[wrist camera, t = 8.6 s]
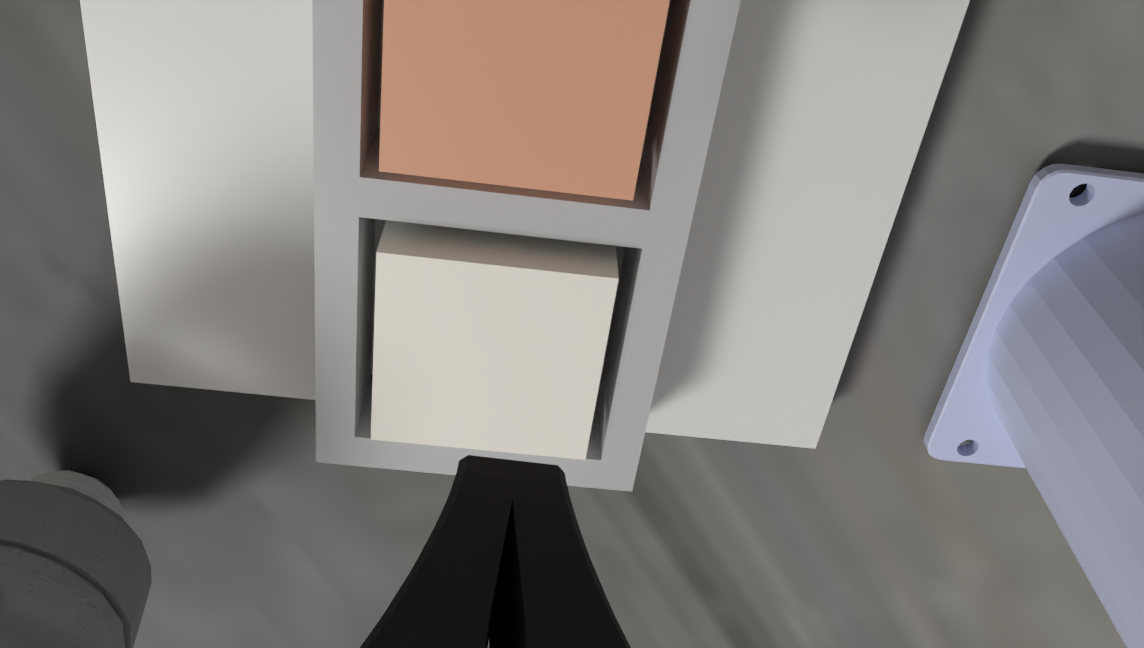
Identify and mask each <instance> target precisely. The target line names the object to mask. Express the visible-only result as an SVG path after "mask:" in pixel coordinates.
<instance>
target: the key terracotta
mask: <svg viewBox="0 0 1144 648" xmlns="http://www.w3.org/2000/svg"><path fill="white" fill-rule="evenodd" d="M669 2H670V0H384V17H383V50H382V83H381V116H380V148H379V171H380V172H389V173H398V174H406V175H415V176H424V177H432V178H441V179H450V180H458V181H467V182H476V183H484V184H493V185H502V186H510V187H519V188H528V189H536V190H545V191H554V192H562V193H571V194H580V195H588V196H597V197H606V198H614V199H623V200H632V201H633V198H634V193H635V187H636V182H637V177H638V171H639V166H640V160H641V155H642V149H643V144H644V138H645V133H646V128H647V122H648V117H649V111H650V106H651V100H652V95H653V89H654V84H655V78H656V73H657V68H658V62H659V57H660V51H661V46H662V40H663V35H664V29H665V24H666V19H667V13H668V8H669Z"/></svg>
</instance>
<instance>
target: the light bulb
mask: <svg viewBox="0 0 1144 648" xmlns="http://www.w3.org/2000/svg"><path fill="white" fill-rule="evenodd" d="M122 517H123V509H122V507H121V505H120V502H119V501H118V499H117V498H116V496H115V495H114V493H113V492H112V490H111V489H110V488H109V487H107V486H106V485H105V484H103V483H102V482H101V481H100V480H98V479H96V478H93V477H90V476H87V475H84V474H81V473H77V472H74V471H70V470H63V471H49V472H47V473H44V474H41V475H38V476H36V477H33V478H32V479H31V480H30V481H19V480H2V481H0V648H133V646H134V642H135V639H136V635H137V632H138V628H139V625H140V621H141V618H142V614H143V611H144V607H145V604H146V600H147V597H148V593H149V590H150V586H151V565H150V562H149V559H148V557H147V554H146V551H145V548H144V546H143V543H142V541H141V540H140V539H139V537H138V536H137V535H136V534H135V533H134V531H133V530H132V529H131V528H130V527H129V525H128V524H127V523H126V522H125V521H124V519H123V518H122Z"/></svg>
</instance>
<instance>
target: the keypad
mask: <svg viewBox="0 0 1144 648" xmlns="http://www.w3.org/2000/svg"><path fill="white" fill-rule="evenodd" d="M969 2H970V0H670V2H669V8H668V13H667V19H666V24H665V29H664V35H663V40H662V46H661V51H660V57H659V62H658V68H657V73H656V78H655V84H654V89H653V95H652V100H651V106H650V111H649V117H648V122H647V128H646V133H645V138H644V144H643V149H642V155H641V160H640V166H639V171H638V177H637V182H636V187H635V193H634V198H633V201H632V200H623V199H614V198H606V197H597V196H588V195H580V194H571V193H562V192H554V191H545V190H536V189H528V188H519V187H510V186H502V185H493V184H484V183H476V182H467V181H458V180H450V179H441V178H432V177H424V176H415V175H406V174H398V173H389V172H380V171H379V148H380V116H381V83H382V50H383V17H384V0H80V5H81V12H82V20H83V27H84V35H85V42H86V50H87V57H88V65H89V73H90V80H91V88H92V95H93V103H94V110H95V118H96V125H97V133H98V141H99V148H100V156H101V163H102V171H103V178H104V186H105V193H106V201H107V209H108V216H109V224H110V231H111V239H112V246H113V254H114V261H115V269H116V277H117V284H118V292H119V299H120V307H121V314H122V322H123V329H124V337H125V345H126V352H127V360H128V367H129V375H130V382H136V383H146V384H157V385H167V386H177V387H187V388H198V389H208V390H218V391H228V392H239V393H249V394H259V395H270V396H280V397H290V398H300V399H311V400H316V462H319V463H330V464H341V465H351V466H362V467H373V468H384V469H395V470H406V471H416V472H427V473H438V474H449V475H456V473H457V468H458V464H459V460H461V459H463V458H464V457H466V456H468V455H473V456H481V457H490V458H499V459H508V460H516V461H525V462H534V463H542V464H551V465H558V466H559V467H560V468H561V469H562V470H563V472H564V473H565V478H566V483H567V485H568V486H578V487H589V488H600V489H611V490H622V491H632V489H633V485H634V480H635V476H636V471H637V467H638V462H639V458H640V453H641V449H642V444H643V440H644V435H645V432H650V433H660V434H670V435H681V436H691V437H701V438H712V439H722V440H732V441H742V442H753V443H763V444H773V445H784V446H794V447H804V448H814V449H816V446H817V443H818V440H819V437H820V434H821V432H822V429H823V426H824V423H825V420H826V417H827V414H828V411H829V408H830V405H831V403H832V400H833V397H834V394H835V391H836V388H837V385H838V382H839V379H840V376H841V373H842V371H843V368H844V365H845V362H846V359H847V356H848V353H849V350H850V347H851V344H852V342H853V339H854V336H855V333H856V330H857V327H858V324H859V321H860V318H861V315H862V312H863V310H864V307H865V304H866V301H867V298H868V295H869V292H870V289H871V286H872V283H873V281H874V278H875V275H876V272H877V269H878V266H879V263H880V260H881V257H882V254H883V251H884V249H885V246H886V243H887V240H888V237H889V234H890V231H891V228H892V225H893V222H894V220H895V217H896V214H897V211H898V208H899V205H900V202H901V199H902V196H903V193H904V191H905V188H906V185H907V182H908V179H909V176H910V173H911V170H912V167H913V164H914V161H915V159H916V156H917V153H918V150H919V147H920V144H921V141H922V138H923V135H924V132H925V130H926V127H927V124H928V121H929V118H930V115H931V112H932V109H933V106H934V103H935V100H936V98H937V95H938V92H939V89H940V86H941V83H942V80H943V77H944V74H945V71H946V69H947V66H948V63H949V60H950V57H951V54H952V51H953V48H954V45H955V42H956V39H957V37H958V34H959V31H960V28H961V25H962V22H963V19H964V16H965V13H966V10H967V8H968V5H969ZM386 220H389V221H398V222H407V223H416V224H425V225H434V226H443V227H452V228H461V229H470V230H479V231H488V232H497V233H506V234H515V235H524V236H533V237H542V238H551V239H559V240H568V241H577V242H586V243H595V244H604V245H613V246H616V254H617V265H618V276H619V280H618V286H617V291H616V296H615V302H614V307H613V313H612V318H611V324H610V329H609V335H608V340H607V345H606V351H605V356H604V362H603V367H602V373H601V378H600V384H599V389H598V394H597V400H596V405H595V411H594V416H593V422H592V427H591V433H590V438H589V443H588V449H587V454H586V460H581V459H570V458H559V457H549V456H538V455H528V454H517V453H507V452H496V451H485V450H475V449H464V448H454V447H443V446H433V445H422V444H411V443H401V442H390V441H380V440H371V411H372V378H373V345H374V312H375V280H376V252H377V248H378V245H379V242H380V238H381V235H382V232H383V229H384V225H385V222H386Z"/></svg>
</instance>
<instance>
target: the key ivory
mask: <svg viewBox="0 0 1144 648" xmlns="http://www.w3.org/2000/svg"><path fill="white" fill-rule="evenodd" d="M618 280H619V276H618V265H617V254H616V246H613V245H604V244H595V243H586V242H577V241H568V240H559V239H551V238H542V237H533V236H524V235H515V234H506V233H497V232H488V231H479V230H470V229H461V228H452V227H443V226H434V225H425V224H416V223H407V222H398V221H389V220H386V222H385V225H384V229H383V232H382V235H381V238H380V242H379V245H378V248H377V252H376V280H375V312H374V345H373V378H372V411H371V440H380V441H390V442H401V443H411V444H422V445H433V446H443V447H454V448H464V449H475V450H485V451H496V452H507V453H517V454H528V455H538V456H549V457H559V458H570V459H581V460H586V454H587V449H588V443H589V438H590V433H591V427H592V422H593V416H594V411H595V405H596V400H597V394H598V389H599V384H600V378H601V373H602V367H603V362H604V356H605V351H606V345H607V340H608V335H609V329H610V324H611V318H612V313H613V307H614V302H615V296H616V291H617V286H618Z"/></svg>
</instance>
